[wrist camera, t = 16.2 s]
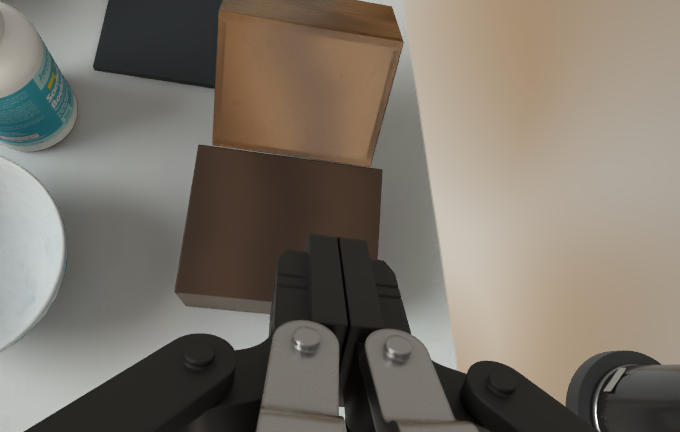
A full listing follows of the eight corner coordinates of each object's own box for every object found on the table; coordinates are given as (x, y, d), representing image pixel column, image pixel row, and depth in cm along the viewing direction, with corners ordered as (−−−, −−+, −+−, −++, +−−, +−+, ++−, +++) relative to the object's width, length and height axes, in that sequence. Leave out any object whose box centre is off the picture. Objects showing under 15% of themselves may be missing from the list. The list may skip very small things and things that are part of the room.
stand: (361, 200, 50) (382, 169, 42) (352, 321, 47) (374, 312, 39) (205, 180, 48) (198, 144, 40) (185, 306, 45) (174, 292, 37)
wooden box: (370, 167, 42) (364, 121, 47) (403, 42, 36) (392, 6, 41) (212, 145, 40) (224, 100, 46) (218, 10, 34) (231, -23, 39)
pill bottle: (93, 135, 47) (38, 47, 34) (3, 167, 45) (-91, 86, 32) (61, 64, 48) (-3, -48, 36) (-27, 91, 46) (-129, -16, 34)
